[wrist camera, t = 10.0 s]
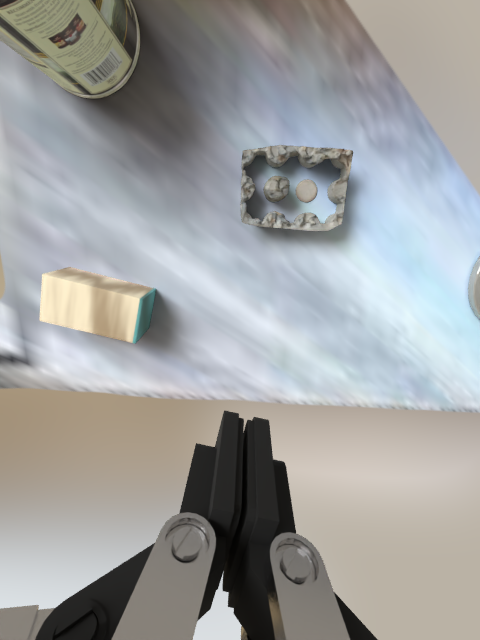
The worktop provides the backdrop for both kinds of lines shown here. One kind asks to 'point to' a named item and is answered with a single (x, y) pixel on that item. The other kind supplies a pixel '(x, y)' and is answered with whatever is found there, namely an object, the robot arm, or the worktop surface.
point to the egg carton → (305, 189)
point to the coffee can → (75, 41)
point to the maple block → (96, 304)
